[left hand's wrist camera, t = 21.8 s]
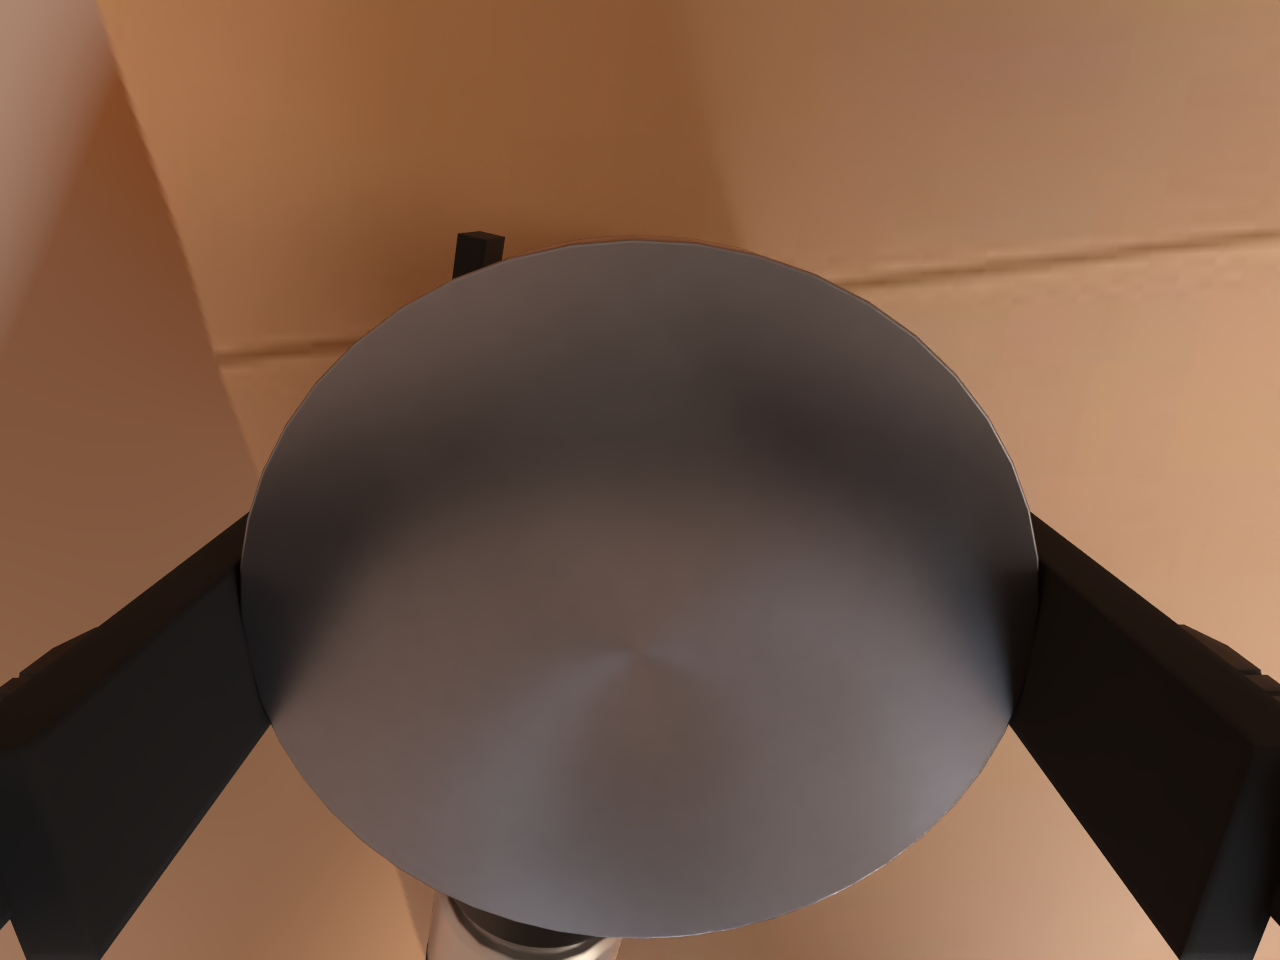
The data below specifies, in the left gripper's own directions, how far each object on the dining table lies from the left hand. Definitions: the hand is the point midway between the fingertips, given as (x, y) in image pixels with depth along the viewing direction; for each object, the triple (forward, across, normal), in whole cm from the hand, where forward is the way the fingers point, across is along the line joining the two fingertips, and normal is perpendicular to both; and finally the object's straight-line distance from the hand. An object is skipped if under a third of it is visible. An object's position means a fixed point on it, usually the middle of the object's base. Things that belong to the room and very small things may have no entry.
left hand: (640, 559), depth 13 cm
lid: (-3, 0, 0) cm, 3 cm away
